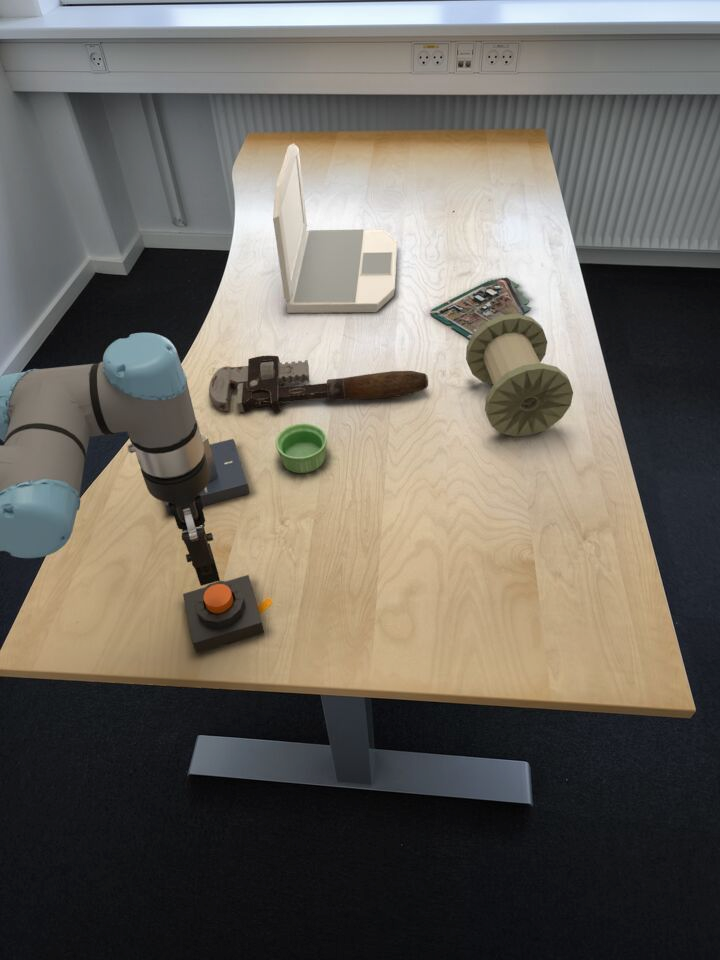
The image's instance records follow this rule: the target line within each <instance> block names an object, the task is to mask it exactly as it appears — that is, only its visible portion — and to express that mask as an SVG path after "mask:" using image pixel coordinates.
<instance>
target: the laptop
mask: <svg viewBox="0 0 720 960" xmlns="http://www.w3.org/2000/svg"><path fill="white" fill-rule="evenodd" d="M299 149H300V148H299V147H298V146H297V145H296V144H295V143H291V144H289V145H288V146H287V149H286V151H285V155H284V158H283V162H282V165H281V168H280V172H279V173H278V177H277V181H276V185H275V187H274V198H273V199H274V200H273V202H274V203H273V212H272V213H273V214H272V220H273V221H272V222H273V228H274V235H275V241H276V250H277V256H278V262H279V264H278V265H279V271H280V278H281V285H282V292H283V298H284V299H283V300H285V305H286V313H287V314H308V313H309V314H313V313H316V314H317V313H318V314H319V313H320V314H321V313H323V314H324V313H328V314H329V313H330V314H332V313H333V314H335V313H337V314H338V313H377V312H378V311H379V310H381V308H382V307H383V306H385V305H386V304H387V303H388V302H389V301H390V300H391V299H392V298H393V297H394V294H395V289H396V276H397V274H396V272H397V258H398V257H397V254H398V241H397V240H395V238H394V237H392V236H391V235H390V234H389V233H388V232H387V231H386V230H385V229H312V230H311V229H310V230H307V228H308V223H307V214H306V203H305V194H304V185H303V176H302V175H303V174H302V167H301V157H300V150H299Z"/></svg>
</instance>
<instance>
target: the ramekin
mask: <svg viewBox="0 0 720 960" xmlns="http://www.w3.org/2000/svg"><path fill="white" fill-rule="evenodd" d="M327 442H328V438H327V435H326V433H325V431H324V430H323V429H322V428H320V427H319V426H317V425H314V424H311V423H295V424H291V425H289V426H287V427H285V428H284V429H283V430H281V431H280V432H279V433H278V435H277V437H276V439H275V448H276V450H277V452H278V456H279V458H280V461H281V463H282V465H283V466H284V468H286V469H287V470H288V471H290V472H293V473H297V474H304V473H305V474H306V473H310V472H313V471H316V470H317V469H320V467H321V466H322V465H323V464H324V462H325V461H326V456H327V448H326V447H327Z"/></svg>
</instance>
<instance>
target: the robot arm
mask: <svg viewBox="0 0 720 960" xmlns="http://www.w3.org/2000/svg"><path fill="white" fill-rule="evenodd" d="M187 379H188V378H187V374H186V371H184V369H183V366H182V363H181V360H180V357H179V354H178V351H177V348H176V346H175V345H174V344H173V343H172V341H171V340H170V339H168V338H167V337H165V336H163V335H160V334H157V333H155V332H154V333H153V332H136V333H131V334H129V336H128V337H126V338H125V337H124V338H118V339H116V340H114V341H113V342H112V343H110V344H109V345H108V346H107V348H106V349H105V351H104V353H103V357H102V361H100V362H98V363H88V364H80V365H79V364H78V365H70V366H59V367H49V368H33V369H27V370H26V371H22V372H16V373H10V374H9V373H8V374H3V375H0V440H1V441H2V442H3V444H2V445H0V552H6V553H8V554H9V555H10V556H12V557H15V558H22V559H37V558H43V557H47V556H49V555H52V554H55V553H56V552H58V551H59V550H61V549H62V548H63V547H65V545H66V544H67V543H68V542H69V540H70V538H71V536H72V533H73V530H74V526H75V521H76V518H77V513H78V511H79V510H80V507H81V501H82V499H81V491H82V490H81V489H82V482H83V477H84V468H85V463H86V460H87V453H88V447H89V441H90V438H91V437H92V438H93V437H98V436H107V435H114V434H116V433H124V432H125V433H126V432H127V435H128V439H129V441H130V443H129V444H127V451H128V452H129V453H130V454H133V453H135V457H136V459H137V462H138V464H139V467H140V472H141V475H142V478H143V481H144V483H145V486H146V489H147V491H148V493H149V494H150V495H151V496H152V497H153V498H155V499H157V501H158V500H159V501H161V502H164V503H165V502H168V505H169V509H170V512H171V516H172V517H174V520H175V523H176V526H177V529H178V530H181V541H182V542H183V543H184V545H185V547H186V550H187V552H188V553H187V554H185V558H186V563H191V565H192V567H193V568H194V570H195V574H196V576H197V578H198V582H199V585H200V587H202V586H207V585H209V584H212V583H215V582H219V581H221V580H220V575H219V571H218V568H217V564H216V561H215V557H214V554H213V550H212V547H211V544H210V542H211V541H214V537H213V533H212V532H208V533H206V529H205V526H206V525H205V523H206V518H205V514H204V510H203V509H204V506H203V503H202V499H201V495H200V494H199V493H201V492H202V491H203V490H204V489H205V487H206V486H207V484H208V482H209V479H210V470H209V466H208V462H207V459H206V455H205V452H204V445H203V441H202V437H201V434H202V433H201V430H200V427H199V426H200V425H199V423H198V420H197V417H196V414H195V411H194V406H193V402H192V398H191V393H190V388H189V385H188V384H189V383H188V380H187ZM200 433H201V434H200Z"/></svg>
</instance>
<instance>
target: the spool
mask: <svg viewBox="0 0 720 960" xmlns="http://www.w3.org/2000/svg"><path fill="white" fill-rule="evenodd" d="M547 347H548V339H547V336H546V333H545V331H544V329H543V327H542V324H540V323H539V322H538V321H536V320H535V319H534V318H533V317H532V316H528V315H525V314H522V315H521V314H508V315H501V316H499V317H496V318H494V319H492V320H490V321H488V322H486V323H484V324H483V325H482V326H481V327H480V328H479V329H478V330H477V331H476V332H475V333H474V334H473V335H472V337H471V339H469V341H468V343H467V345H466V351H465V360H466V363H467V366H468V368H469V370H470V372H471V374H472V376H474V377H475V378H477V379H478V380H479V381H481V383H484V384H490V385H492V386H491V387H490V389H489V391H488V393H487V395H486V396H485V403H484V412H485V414H486V417H487V420H488V421H489V424H490V425H491V427H492V428H493V429H495V430H496V431H497V432H499V433H500V434H502V435H507V436H511V437H516V438H518V437H526V436H534V435H537V434H538V433H540V432H543V431H545V430H548V429H550V428H552V427H553V426H554V425H555V424H556V423H557V422H559V421H560V420H562V418H564V416H565V414H566V413H567V411H568V410H569V408H570V407H571V405H572V401H573V396H574V390H573V388H572V384H571V381H570V379H569V377H568V375H567V374H566V373H565V372H564V371H562V370H561V368H559V367H557V366H556V365H552V364H551V365H550V364H547V363H544V362H543V363H542V361H543V359H544V358H545V357H546V353H547Z"/></svg>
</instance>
